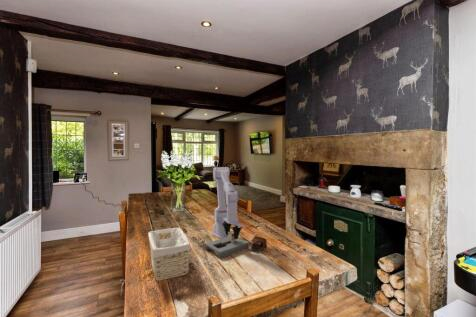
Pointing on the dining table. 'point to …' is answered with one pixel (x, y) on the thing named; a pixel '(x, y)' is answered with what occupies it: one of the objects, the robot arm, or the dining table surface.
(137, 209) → the dining table surface
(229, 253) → the keyhole plate
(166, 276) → the storage basket
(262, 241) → the dark wooden box
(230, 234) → the brass peg
